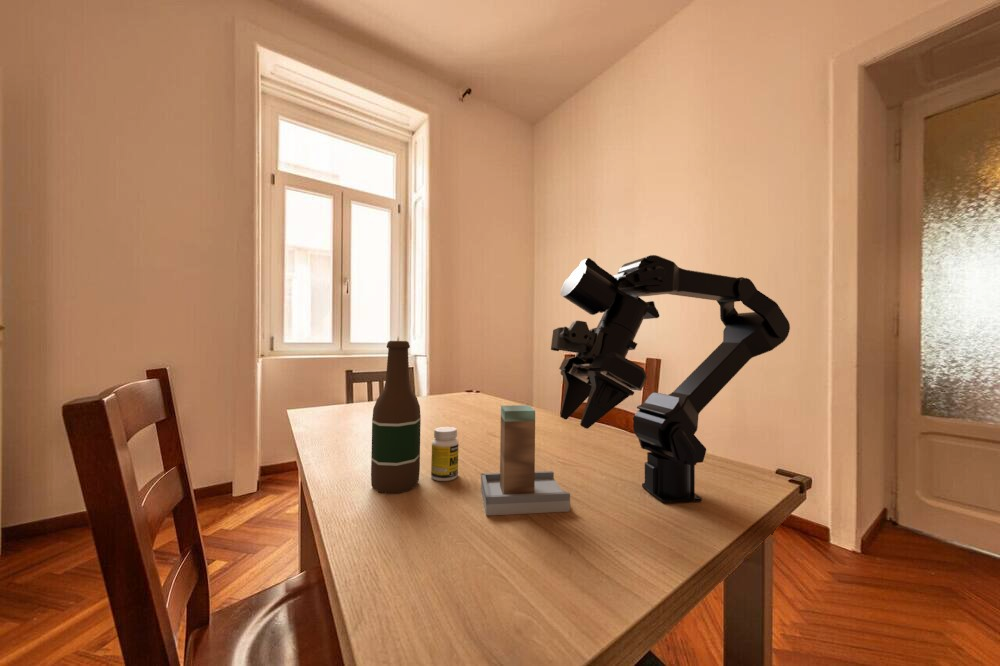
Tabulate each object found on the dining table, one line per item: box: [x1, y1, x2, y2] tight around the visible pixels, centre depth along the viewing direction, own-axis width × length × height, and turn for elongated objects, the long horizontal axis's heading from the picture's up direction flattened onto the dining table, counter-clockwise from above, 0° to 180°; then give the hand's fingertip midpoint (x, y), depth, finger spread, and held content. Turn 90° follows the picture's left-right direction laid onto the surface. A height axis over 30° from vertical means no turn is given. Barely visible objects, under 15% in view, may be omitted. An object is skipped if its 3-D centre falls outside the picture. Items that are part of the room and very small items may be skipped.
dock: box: [480, 470, 571, 516], centre depth 55 cm, size 12×9×2 cm
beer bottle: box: [370, 340, 422, 495], centre depth 60 cm, size 8×8×24 cm
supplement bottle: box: [430, 426, 460, 482], centre depth 64 cm, size 5×5×8 cm
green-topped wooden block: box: [499, 404, 536, 495], centre depth 54 cm, size 4×4×12 cm
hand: (572, 422), depth 53 cm, fingers open, 9 cm apart
